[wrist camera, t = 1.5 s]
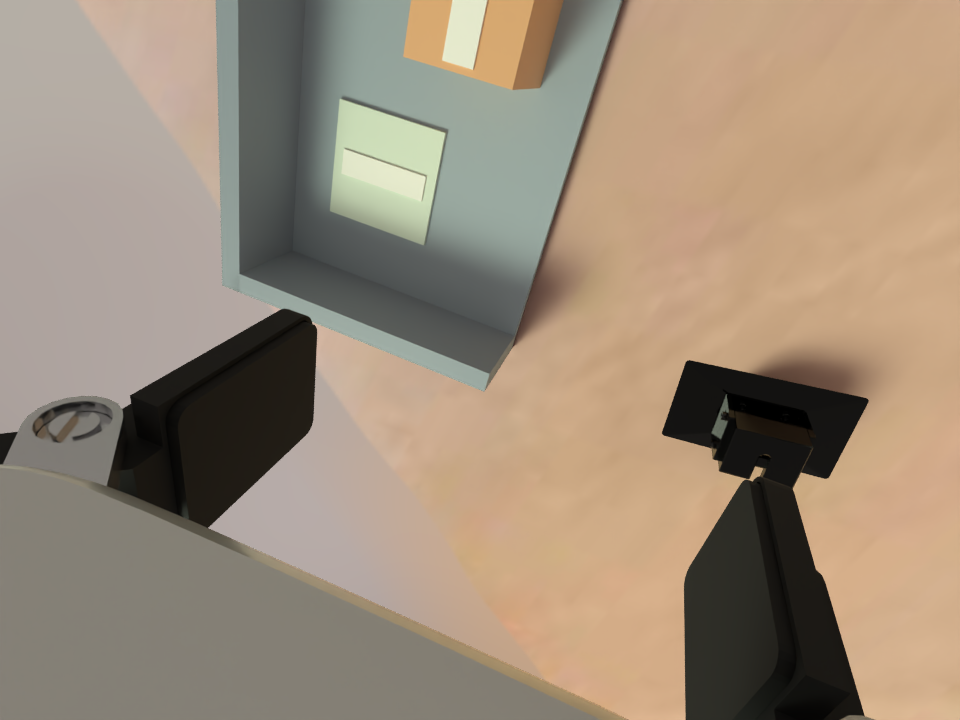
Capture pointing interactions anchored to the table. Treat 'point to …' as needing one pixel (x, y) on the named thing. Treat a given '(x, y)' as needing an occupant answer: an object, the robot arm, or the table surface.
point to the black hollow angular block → (762, 422)
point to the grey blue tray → (392, 175)
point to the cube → (484, 38)
